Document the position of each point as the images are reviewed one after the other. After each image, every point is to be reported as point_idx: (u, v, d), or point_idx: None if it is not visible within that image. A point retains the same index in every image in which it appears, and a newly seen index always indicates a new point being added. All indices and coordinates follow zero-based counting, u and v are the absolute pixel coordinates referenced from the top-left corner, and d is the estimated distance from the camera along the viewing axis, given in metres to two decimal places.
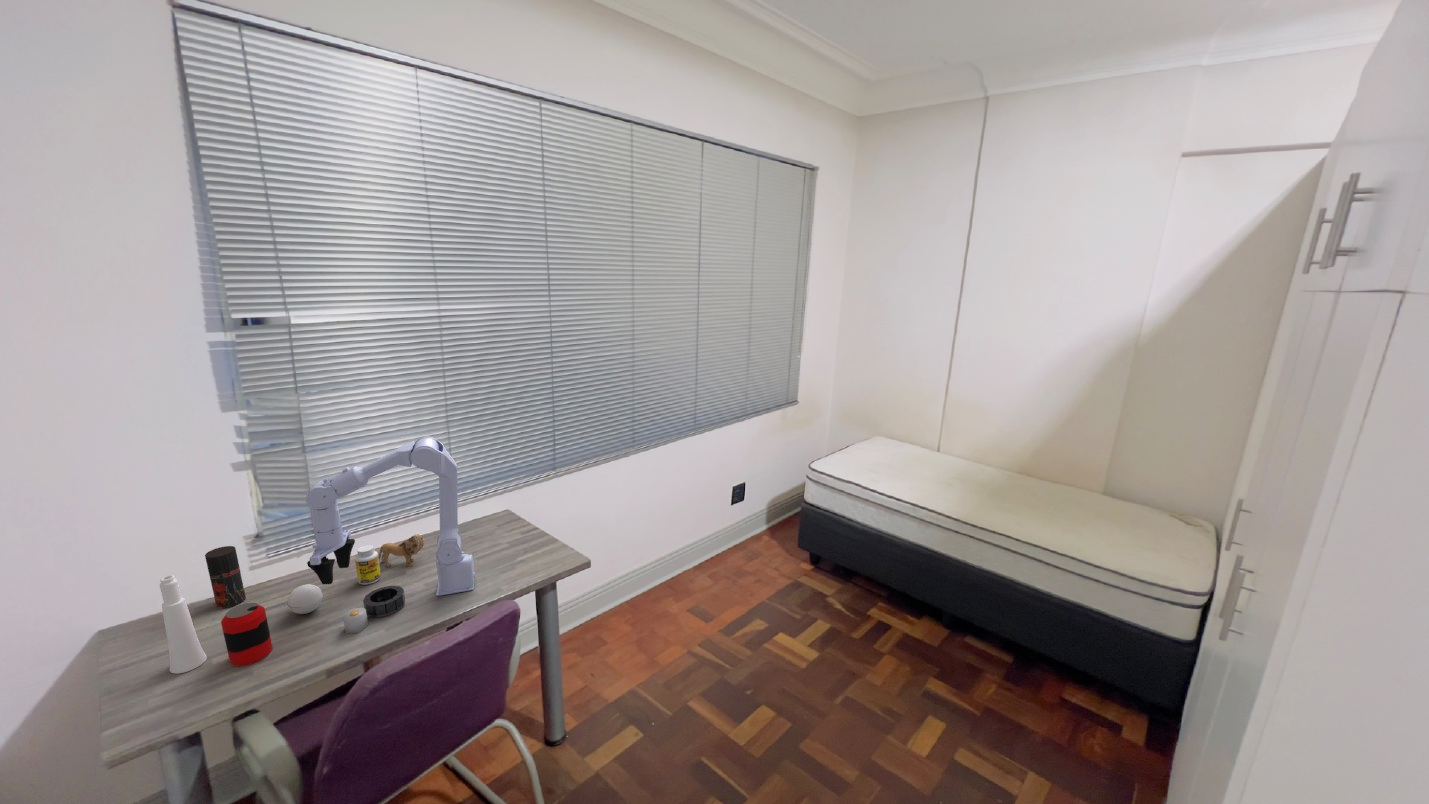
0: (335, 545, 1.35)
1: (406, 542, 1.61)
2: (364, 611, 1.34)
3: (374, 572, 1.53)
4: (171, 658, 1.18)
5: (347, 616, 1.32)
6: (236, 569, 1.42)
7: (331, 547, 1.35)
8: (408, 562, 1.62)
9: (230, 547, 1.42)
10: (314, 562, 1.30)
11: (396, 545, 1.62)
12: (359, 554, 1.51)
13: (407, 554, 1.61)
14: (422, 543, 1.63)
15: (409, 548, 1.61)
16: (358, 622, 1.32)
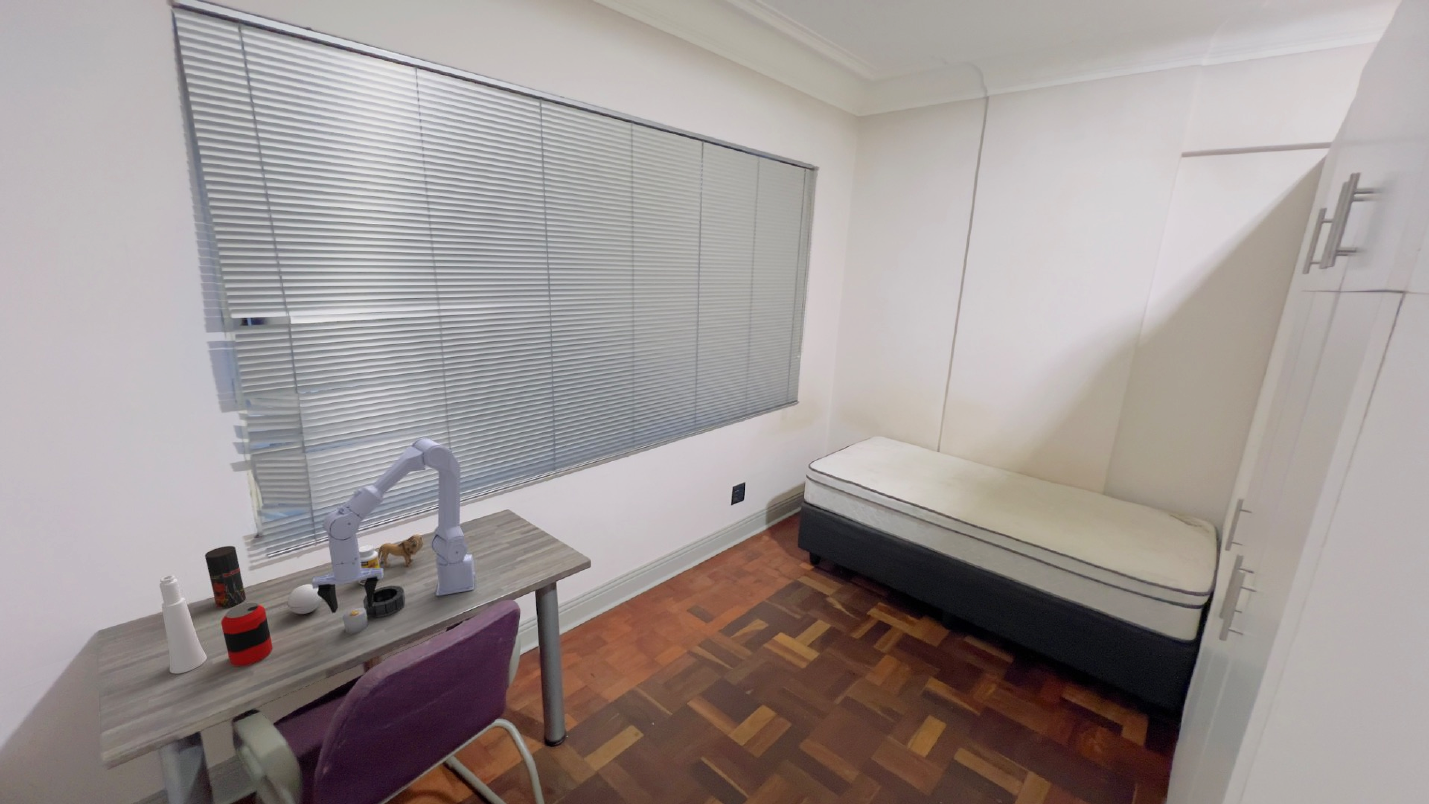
0: (336, 579, 1.28)
1: (405, 542, 1.61)
2: (364, 611, 1.34)
3: None
4: (171, 658, 1.18)
5: (347, 616, 1.32)
6: (236, 569, 1.42)
7: (334, 579, 1.29)
8: (407, 562, 1.62)
9: (230, 547, 1.42)
10: None
11: (395, 545, 1.62)
12: None
13: (406, 554, 1.61)
14: (421, 543, 1.63)
15: (408, 548, 1.61)
16: (358, 622, 1.32)
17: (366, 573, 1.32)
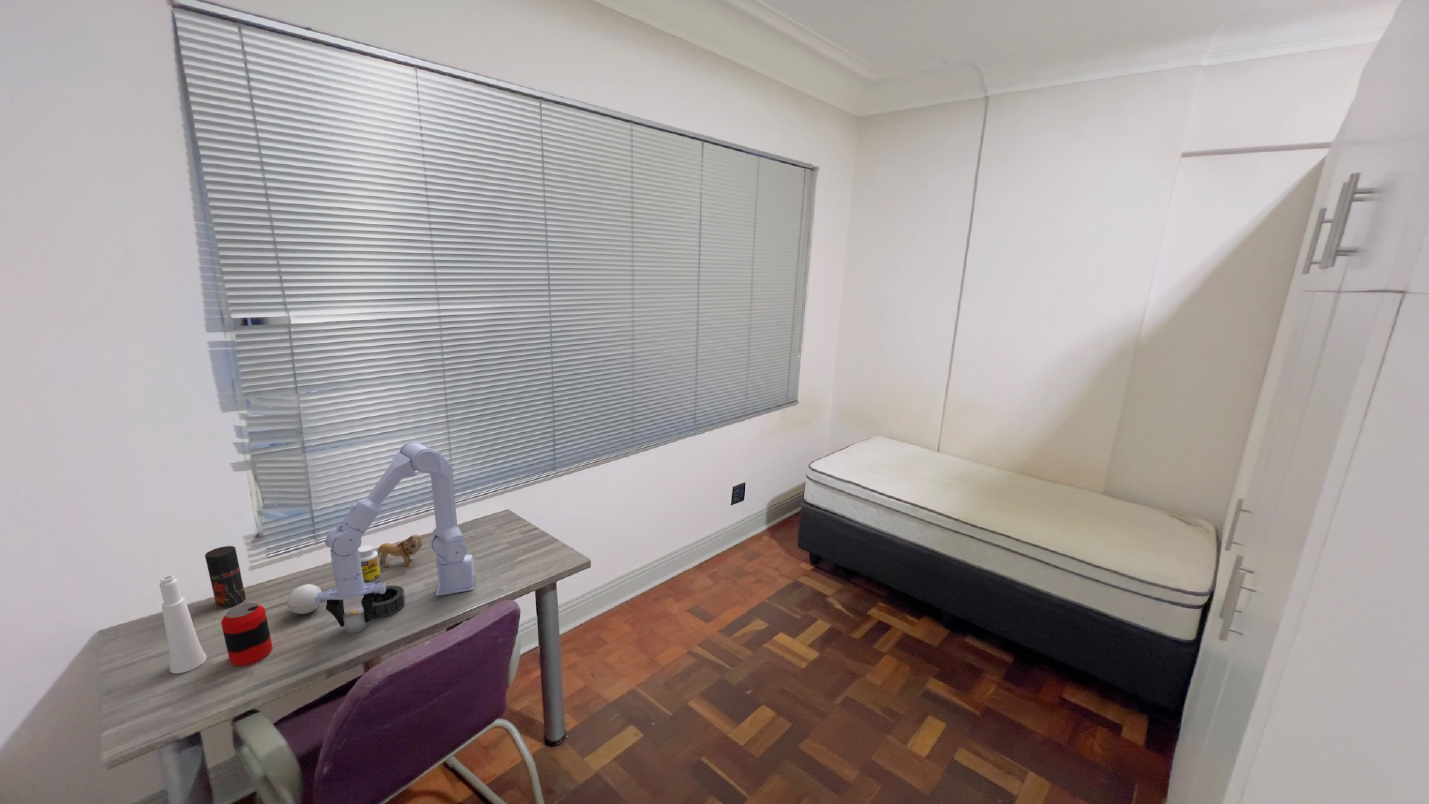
0: (339, 595, 1.29)
1: (404, 542, 1.61)
2: None
3: (374, 572, 1.53)
4: (171, 658, 1.18)
5: (347, 616, 1.32)
6: (236, 569, 1.42)
7: (337, 594, 1.30)
8: (406, 562, 1.62)
9: (230, 547, 1.42)
10: None
11: (394, 545, 1.62)
12: None
13: (405, 554, 1.61)
14: (420, 543, 1.63)
15: (407, 548, 1.61)
16: (358, 622, 1.32)
17: (368, 588, 1.33)
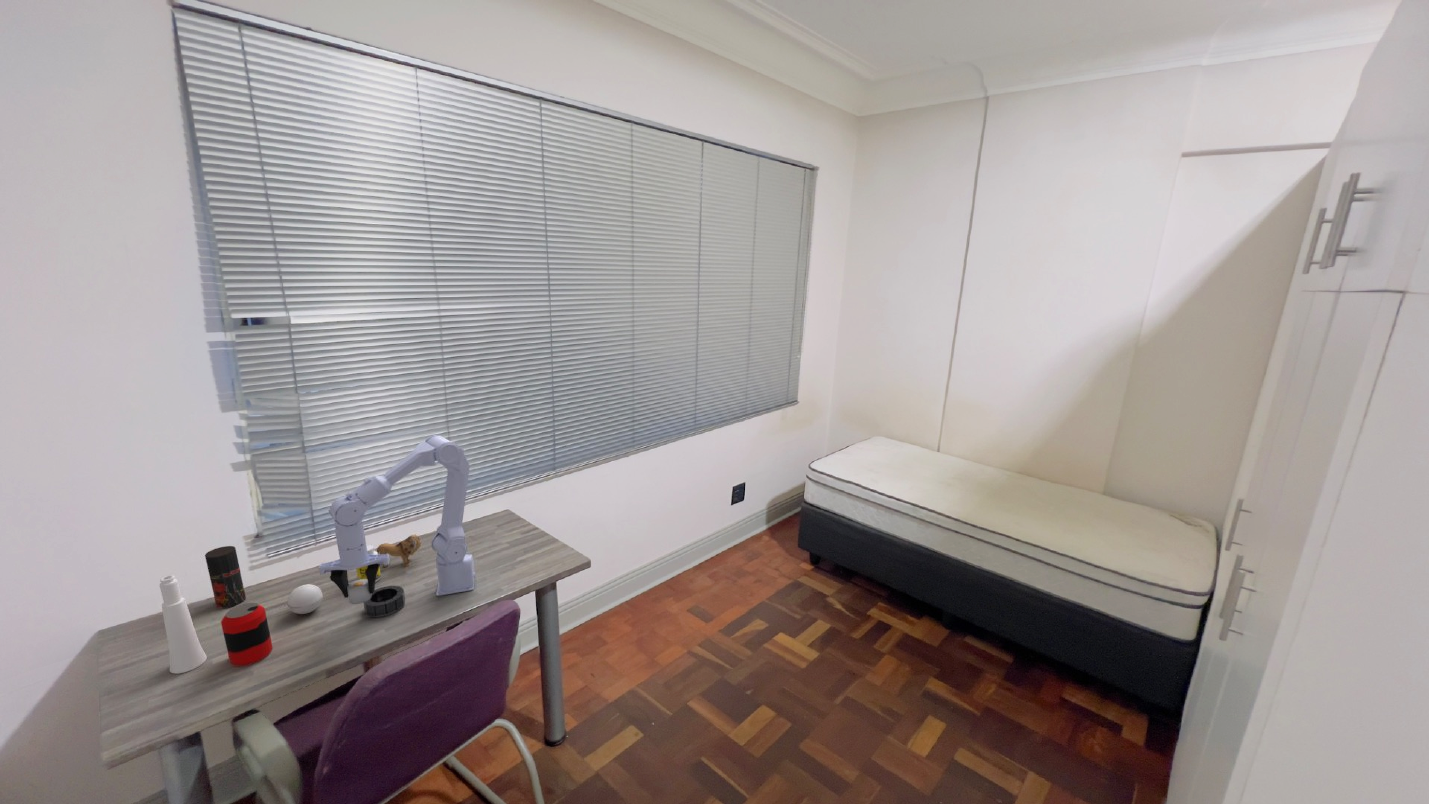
0: (343, 565, 1.30)
1: (403, 542, 1.61)
2: None
3: None
4: (171, 658, 1.18)
5: (351, 587, 1.33)
6: (236, 569, 1.42)
7: (341, 565, 1.30)
8: (405, 562, 1.62)
9: (230, 547, 1.42)
10: None
11: (393, 545, 1.62)
12: None
13: (404, 554, 1.61)
14: (419, 543, 1.63)
15: (406, 548, 1.61)
16: (362, 592, 1.32)
17: (372, 559, 1.33)
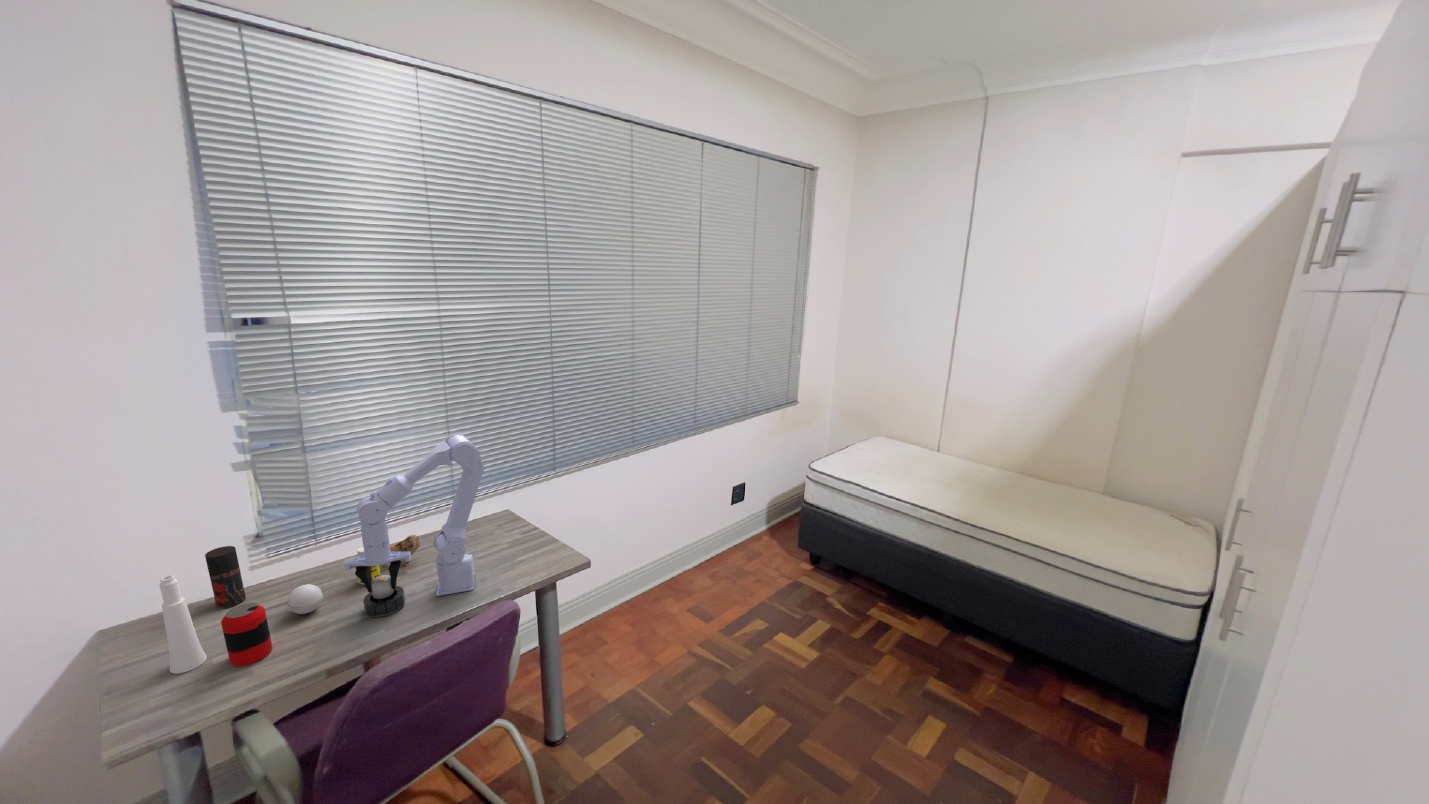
0: (367, 561, 1.36)
1: (402, 542, 1.61)
2: (390, 578, 1.41)
3: (374, 572, 1.53)
4: (171, 658, 1.18)
5: (374, 582, 1.39)
6: (236, 569, 1.42)
7: (365, 561, 1.37)
8: (404, 562, 1.62)
9: (230, 547, 1.42)
10: None
11: (392, 546, 1.62)
12: (359, 554, 1.51)
13: None
14: (418, 543, 1.63)
15: (405, 548, 1.61)
16: (384, 587, 1.39)
17: (395, 556, 1.40)
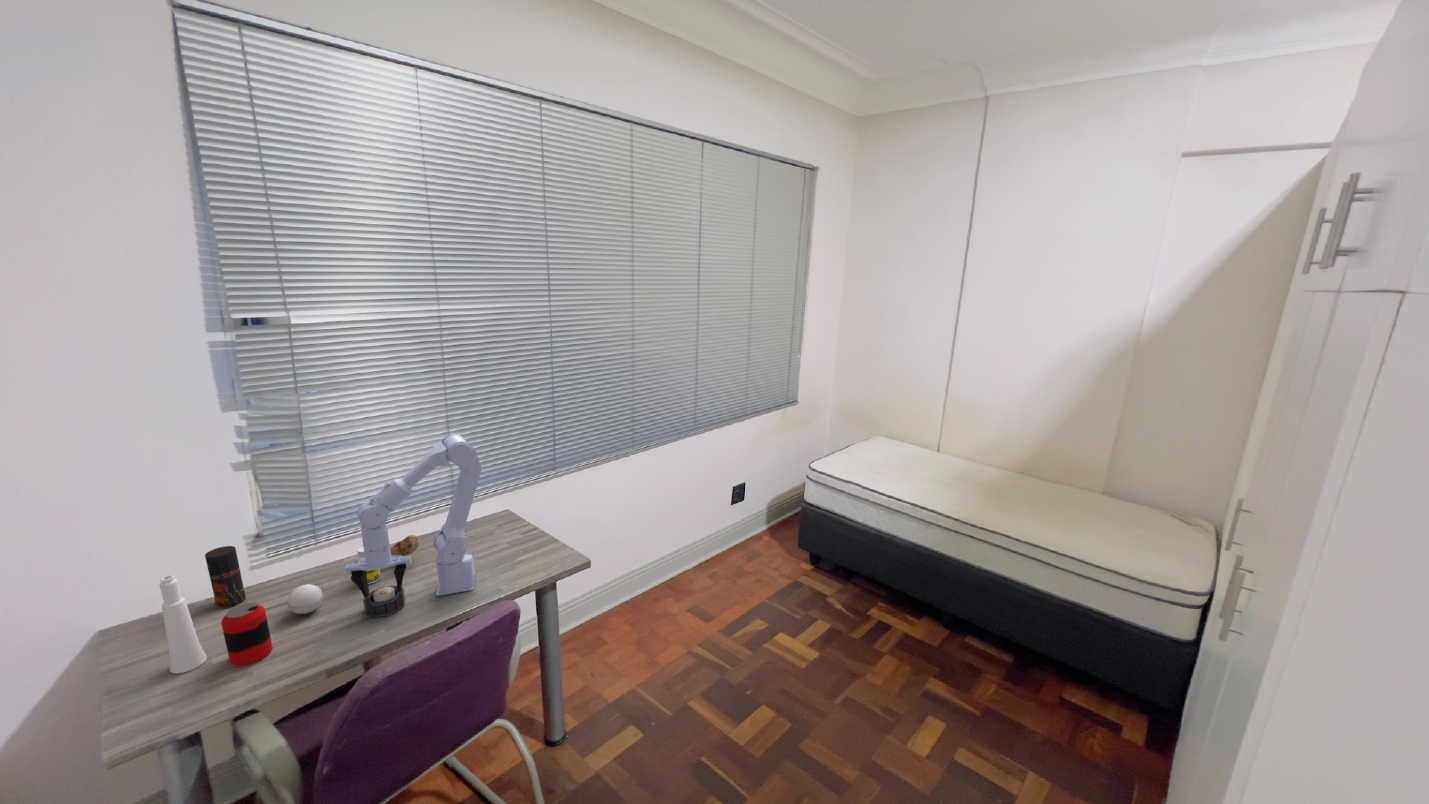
0: (368, 565, 1.37)
1: (401, 542, 1.61)
2: (393, 590, 1.42)
3: (374, 572, 1.53)
4: (171, 658, 1.18)
5: (377, 594, 1.40)
6: (236, 569, 1.42)
7: (366, 565, 1.37)
8: None
9: (230, 547, 1.42)
10: None
11: (391, 546, 1.61)
12: (359, 554, 1.51)
13: (402, 554, 1.61)
14: (417, 543, 1.63)
15: (404, 548, 1.61)
16: (387, 599, 1.40)
17: (395, 560, 1.40)
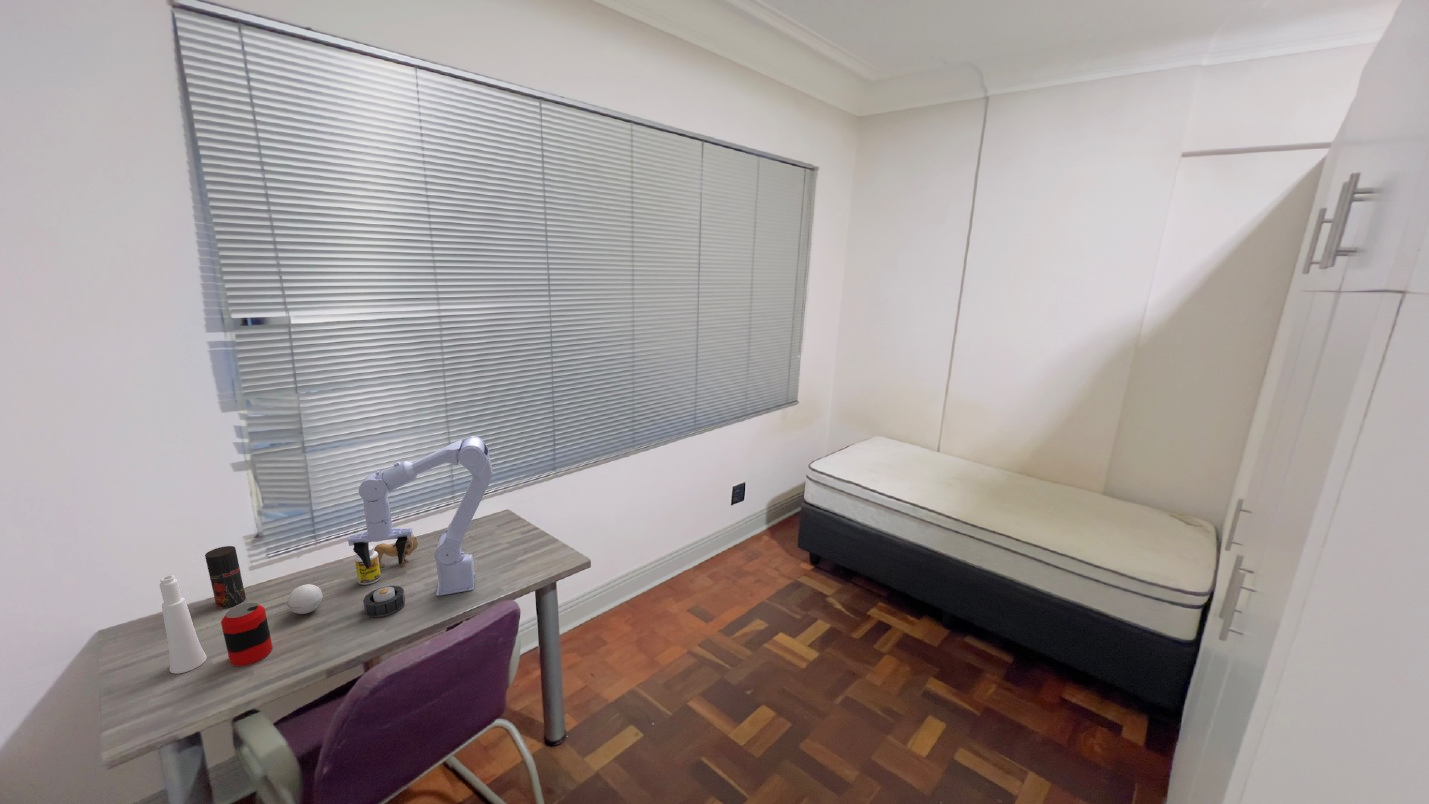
0: (370, 537, 1.40)
1: None
2: (393, 590, 1.42)
3: (374, 572, 1.53)
4: (171, 658, 1.18)
5: (377, 594, 1.40)
6: (236, 569, 1.42)
7: (368, 537, 1.40)
8: (402, 563, 1.62)
9: (230, 547, 1.42)
10: None
11: (390, 546, 1.61)
12: None
13: None
14: (416, 543, 1.63)
15: None
16: (387, 599, 1.40)
17: (397, 532, 1.44)
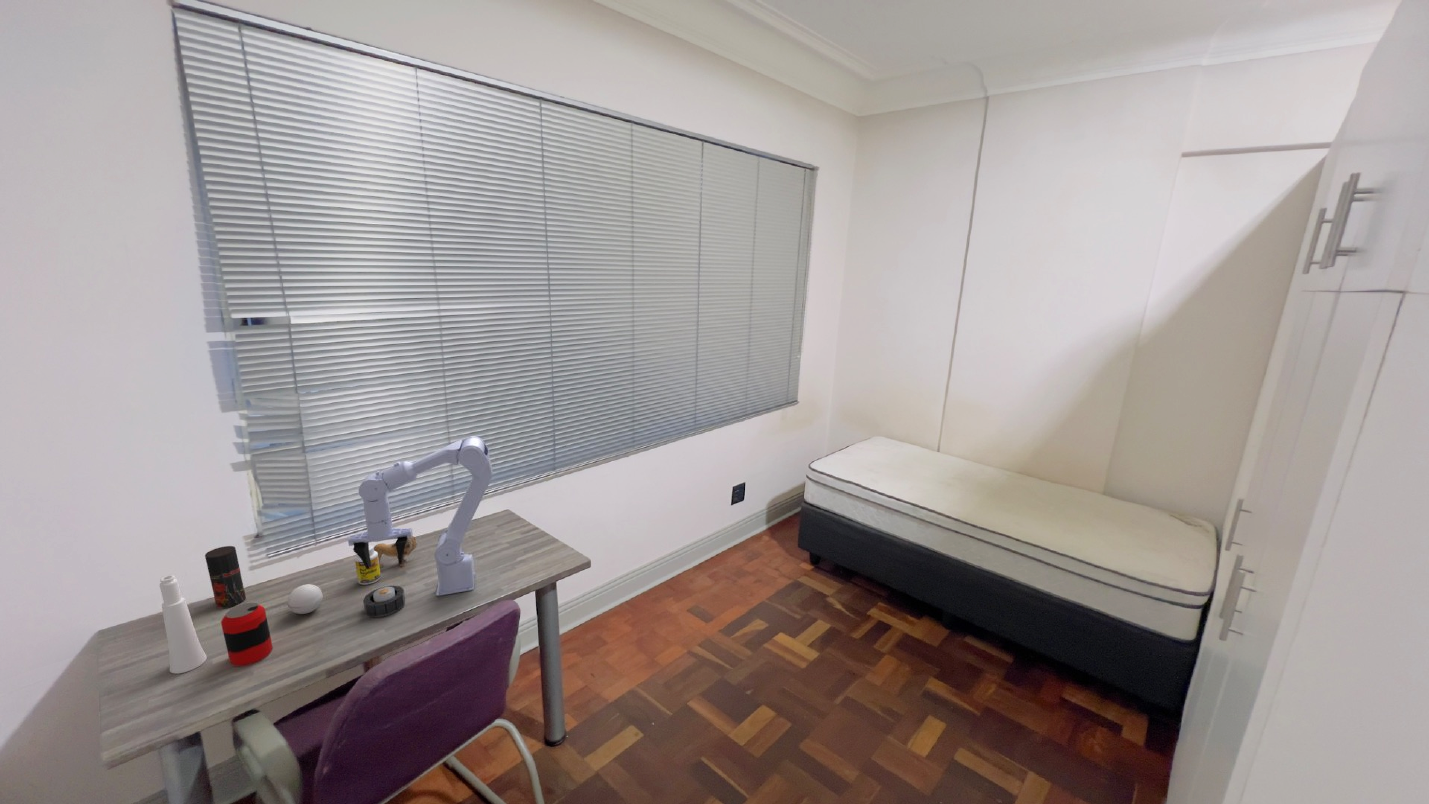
0: (370, 537, 1.40)
1: None
2: (393, 590, 1.42)
3: (374, 572, 1.53)
4: (171, 658, 1.18)
5: (377, 594, 1.40)
6: (236, 569, 1.42)
7: (368, 537, 1.40)
8: None
9: (230, 547, 1.42)
10: None
11: (389, 546, 1.61)
12: None
13: None
14: (415, 544, 1.63)
15: None
16: (387, 599, 1.40)
17: (397, 532, 1.44)
